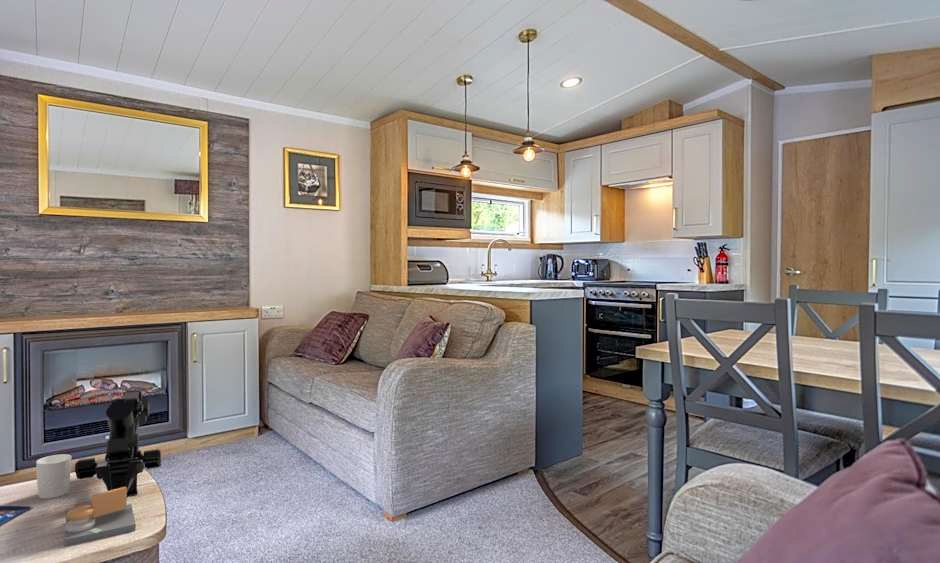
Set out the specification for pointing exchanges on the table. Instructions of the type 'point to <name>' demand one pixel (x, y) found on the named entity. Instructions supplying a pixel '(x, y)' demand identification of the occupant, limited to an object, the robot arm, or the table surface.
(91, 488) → the table surface
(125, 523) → the base
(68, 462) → the white cup
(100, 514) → the lever cap
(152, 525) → the table surface
